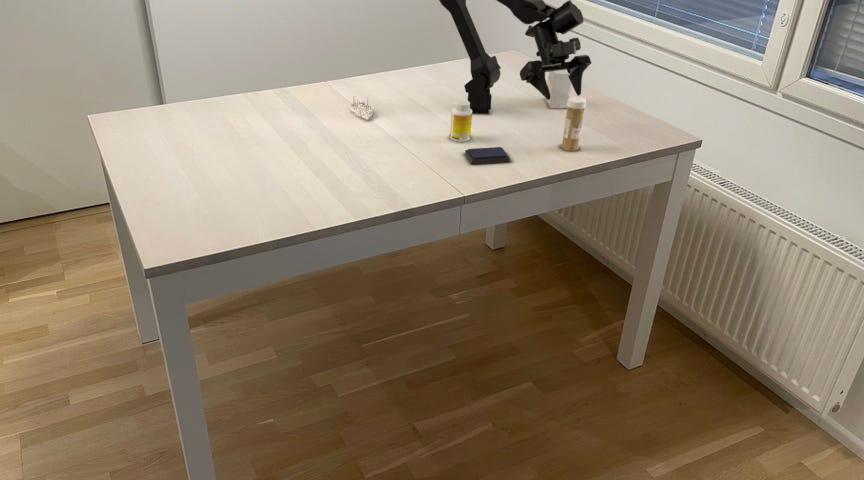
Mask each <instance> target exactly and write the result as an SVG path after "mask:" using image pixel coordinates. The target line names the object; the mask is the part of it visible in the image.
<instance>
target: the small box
mask: <svg viewBox="0 0 864 480" xmlns="http://www.w3.org/2000/svg"><path fill="white" fill-rule="evenodd" d="M569 75H570V74H569V73H568V72H567V70H559V71H551V72H548V78H547V86H548V89H549V92H550V97H551V98H550V99H549V100H547V99H546V98H545V100H546V103H547V105H548V106H549V108H550V109H567V108H568V107H567V103H568V99H569V98H570V97H571V92H572V88H573V86H572V84H571V81H570V79H569V77H568V76H569Z"/></svg>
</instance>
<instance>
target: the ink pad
mask: <svg viewBox="0 0 864 480" xmlns="http://www.w3.org/2000/svg"><path fill="white" fill-rule="evenodd" d="M464 155H465V156H466V158H467V161H468V162H469V163H470V164H471V165H486V164H501V163H502V164H504V163H510V161H511V157H510V155H508V153H507V152H506V151H505V149H504V148H503V147H502V146H495V147H494V146H493V147H491V146H490V147H477V148H468V149H465V150H464Z"/></svg>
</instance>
